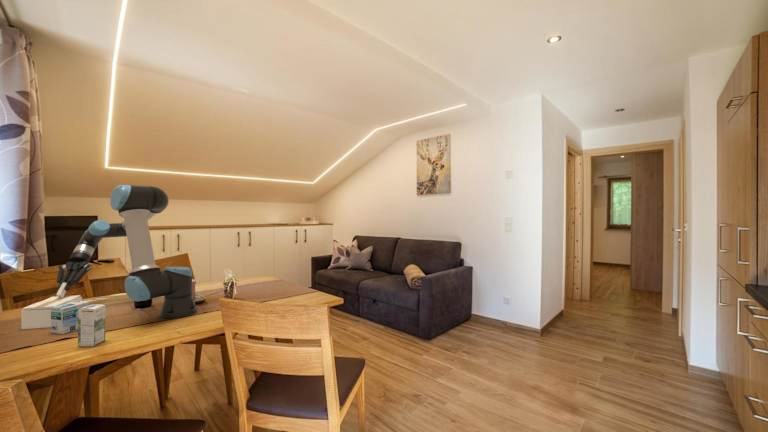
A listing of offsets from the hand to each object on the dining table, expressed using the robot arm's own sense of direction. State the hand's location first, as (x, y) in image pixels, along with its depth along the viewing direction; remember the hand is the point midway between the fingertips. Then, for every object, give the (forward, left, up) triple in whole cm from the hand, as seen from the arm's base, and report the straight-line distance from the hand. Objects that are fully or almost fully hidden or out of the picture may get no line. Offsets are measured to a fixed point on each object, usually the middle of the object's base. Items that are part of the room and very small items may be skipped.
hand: (59, 296), depth 151 cm
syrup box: (-46, -8, -10) cm, 48 cm away
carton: (-3, +2, -10) cm, 11 cm away
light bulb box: (-21, -3, -11) cm, 24 cm away
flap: (0, 0, -2) cm, 2 cm away
